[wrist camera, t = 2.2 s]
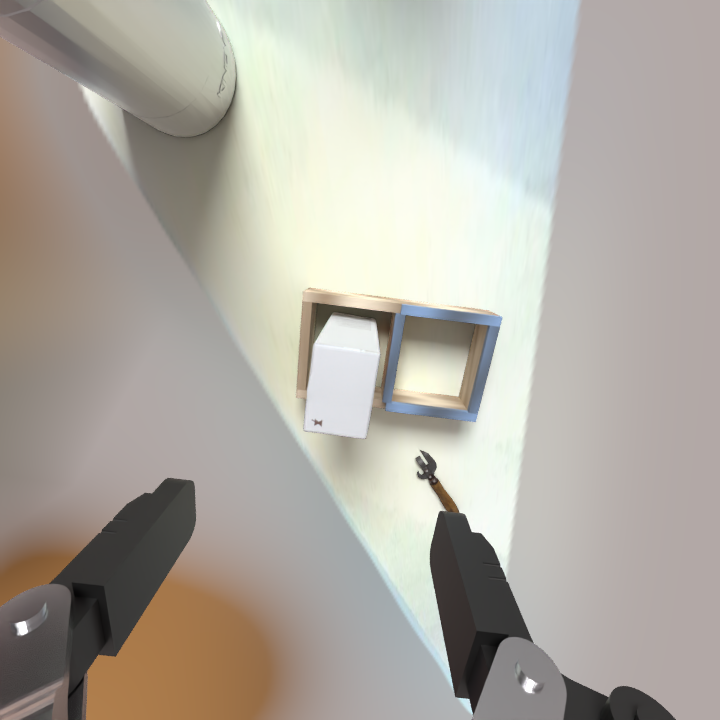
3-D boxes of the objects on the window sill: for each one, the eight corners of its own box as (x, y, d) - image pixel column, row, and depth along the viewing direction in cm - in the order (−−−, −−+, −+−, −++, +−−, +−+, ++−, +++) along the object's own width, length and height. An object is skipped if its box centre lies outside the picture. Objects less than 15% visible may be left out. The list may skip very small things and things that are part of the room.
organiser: (302, 385, 33) (294, 399, 30) (309, 287, 30) (301, 292, 27) (465, 405, 33) (475, 421, 30) (487, 310, 30) (502, 317, 27)
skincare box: (367, 376, 33) (366, 443, 21) (324, 370, 32) (300, 433, 21) (377, 316, 31) (382, 353, 19) (332, 309, 31) (310, 342, 19)
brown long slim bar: (458, 508, 37) (461, 516, 36) (439, 515, 38) (441, 523, 37) (427, 444, 35) (429, 450, 34) (407, 452, 35) (408, 459, 34)
